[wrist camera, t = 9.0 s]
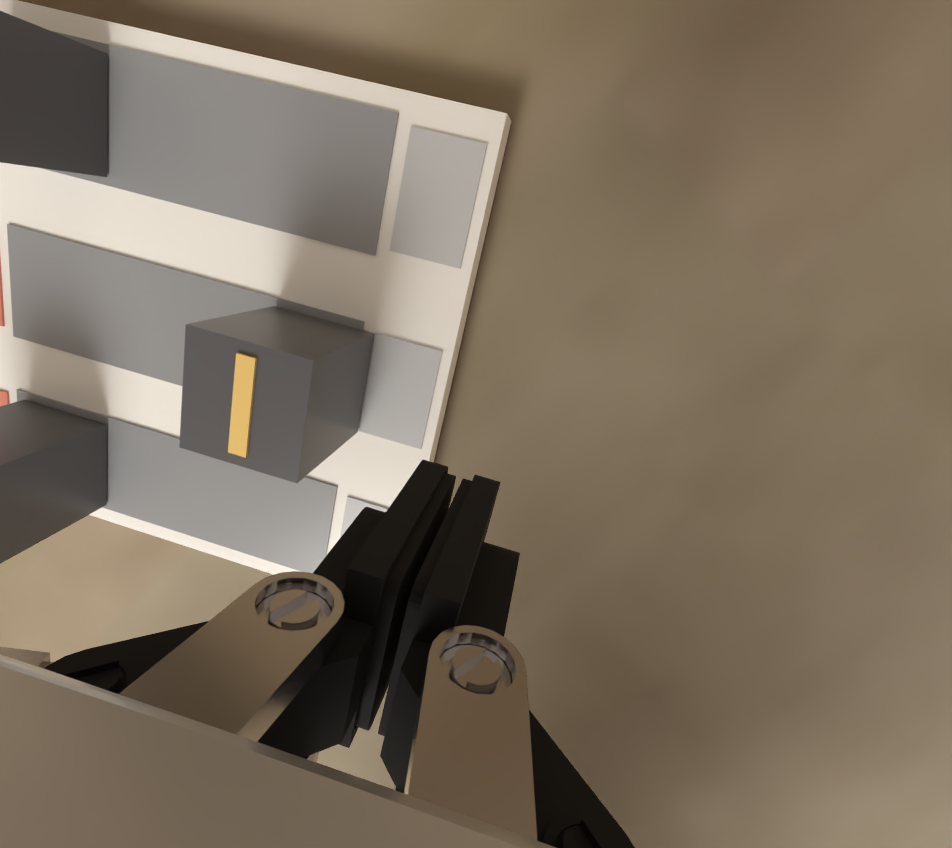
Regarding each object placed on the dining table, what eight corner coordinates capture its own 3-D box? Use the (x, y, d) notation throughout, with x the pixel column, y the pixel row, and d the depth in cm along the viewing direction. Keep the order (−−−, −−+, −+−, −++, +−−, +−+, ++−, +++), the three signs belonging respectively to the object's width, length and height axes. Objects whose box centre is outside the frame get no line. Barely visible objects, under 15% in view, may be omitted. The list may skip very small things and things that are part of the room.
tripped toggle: (374, 333, 20) (311, 360, 16) (358, 432, 22) (295, 484, 17) (274, 305, 21) (183, 324, 16) (264, 404, 22) (177, 448, 17)
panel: (511, 121, 19) (478, 62, 13) (402, 597, 26) (347, 707, 19) (-54, -11, 21) (-318, -116, 15) (-15, 463, 28) (-184, 525, 21)
